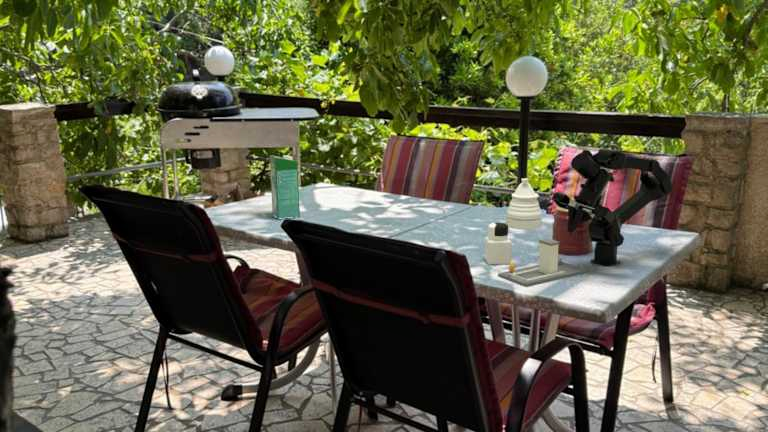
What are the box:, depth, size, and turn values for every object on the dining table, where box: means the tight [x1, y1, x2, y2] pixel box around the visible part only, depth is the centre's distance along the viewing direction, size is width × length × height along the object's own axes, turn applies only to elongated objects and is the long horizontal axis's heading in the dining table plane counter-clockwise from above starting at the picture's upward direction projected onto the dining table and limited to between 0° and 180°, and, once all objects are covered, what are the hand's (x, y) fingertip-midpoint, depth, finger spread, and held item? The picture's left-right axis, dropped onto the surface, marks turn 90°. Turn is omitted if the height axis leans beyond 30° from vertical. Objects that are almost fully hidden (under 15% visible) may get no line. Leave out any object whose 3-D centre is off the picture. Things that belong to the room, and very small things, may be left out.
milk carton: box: [269, 154, 301, 220], centre depth 292 cm, size 9×9×25 cm
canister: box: [551, 196, 594, 256], centre depth 237 cm, size 13×13×18 cm
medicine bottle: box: [484, 222, 513, 265], centre depth 227 cm, size 7×7×12 cm
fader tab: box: [538, 238, 560, 274], centre depth 212 cm, size 3×5×10 cm
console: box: [497, 257, 589, 288], centre depth 214 cm, size 24×12×4 cm, turn 122°
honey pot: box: [505, 178, 543, 231], centre depth 272 cm, size 13×13×18 cm
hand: (568, 232), depth 214 cm, fingers closed
